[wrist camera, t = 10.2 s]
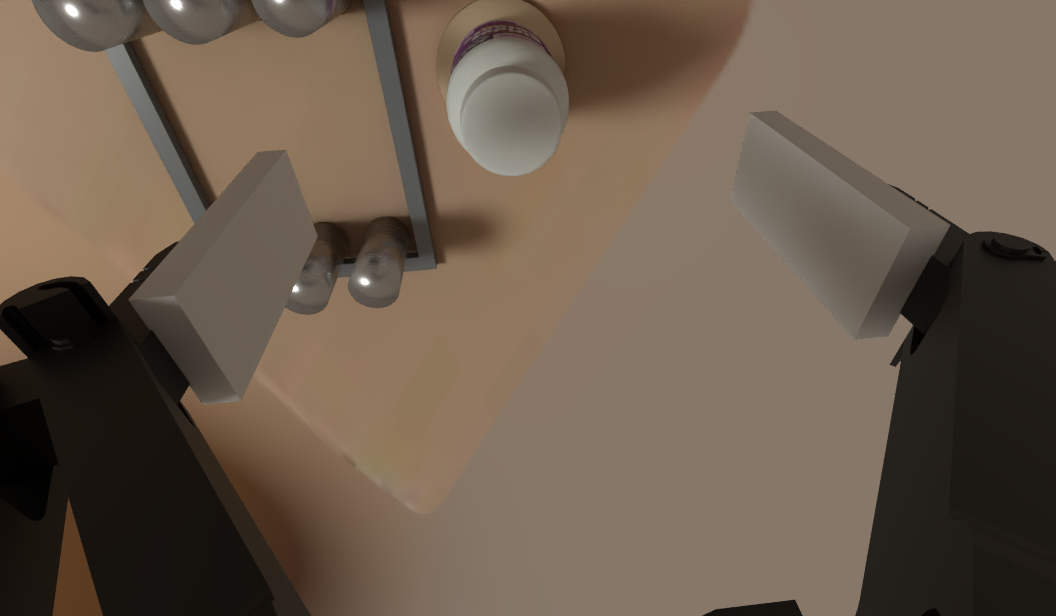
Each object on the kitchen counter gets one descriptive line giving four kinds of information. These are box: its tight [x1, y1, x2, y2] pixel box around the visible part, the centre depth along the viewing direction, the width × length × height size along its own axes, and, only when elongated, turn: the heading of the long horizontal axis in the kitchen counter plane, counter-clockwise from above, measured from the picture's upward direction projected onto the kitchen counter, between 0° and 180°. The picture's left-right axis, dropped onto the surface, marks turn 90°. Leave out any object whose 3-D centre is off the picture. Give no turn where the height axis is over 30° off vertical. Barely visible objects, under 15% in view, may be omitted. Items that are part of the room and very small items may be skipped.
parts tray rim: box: [104, 0, 437, 278], centre depth 28 cm, size 19×14×1 cm
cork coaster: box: [437, 0, 566, 102], centre depth 27 cm, size 7×7×1 cm
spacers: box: [32, 0, 410, 314], centre depth 26 cm, size 17×11×6 cm, turn 3°
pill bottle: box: [446, 19, 569, 176], centre depth 23 cm, size 5×5×10 cm
